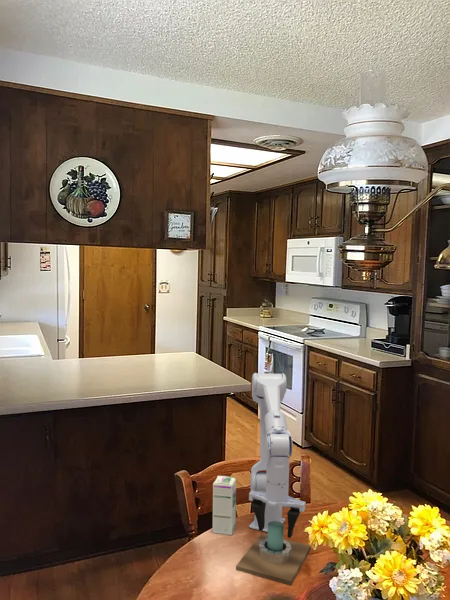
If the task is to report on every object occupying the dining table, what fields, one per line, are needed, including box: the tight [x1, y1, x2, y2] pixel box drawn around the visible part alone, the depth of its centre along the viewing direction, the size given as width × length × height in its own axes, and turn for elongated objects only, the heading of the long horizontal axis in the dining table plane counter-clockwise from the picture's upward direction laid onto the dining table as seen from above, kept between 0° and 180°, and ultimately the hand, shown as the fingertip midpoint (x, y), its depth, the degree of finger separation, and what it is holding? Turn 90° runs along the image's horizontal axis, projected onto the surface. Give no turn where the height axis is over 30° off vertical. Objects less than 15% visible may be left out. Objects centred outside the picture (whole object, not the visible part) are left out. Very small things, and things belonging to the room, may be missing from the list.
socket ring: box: [259, 539, 292, 564], centre depth 132 cm, size 8×8×2 cm
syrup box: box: [212, 475, 237, 536], centre depth 146 cm, size 6×6×14 cm
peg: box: [267, 521, 285, 552], centre depth 132 cm, size 4×4×8 cm
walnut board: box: [235, 533, 312, 586], centre depth 132 cm, size 18×14×1 cm
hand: (275, 532), depth 132 cm, fingers open, 7 cm apart
